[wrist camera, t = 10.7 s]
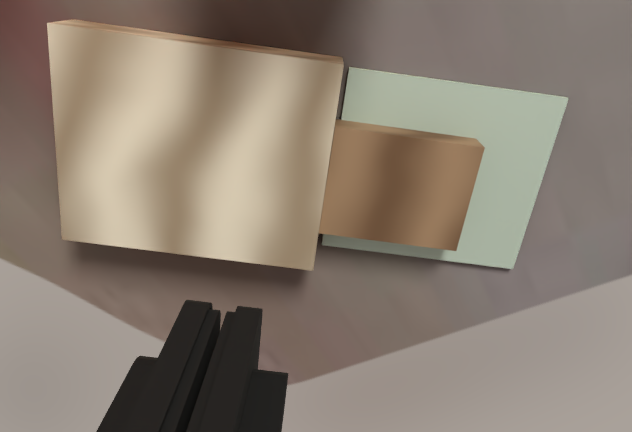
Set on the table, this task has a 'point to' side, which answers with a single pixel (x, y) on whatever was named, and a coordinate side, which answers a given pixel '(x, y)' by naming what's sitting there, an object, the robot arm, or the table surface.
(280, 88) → the deck
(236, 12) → the table surface
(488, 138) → the mat
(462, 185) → the tile
